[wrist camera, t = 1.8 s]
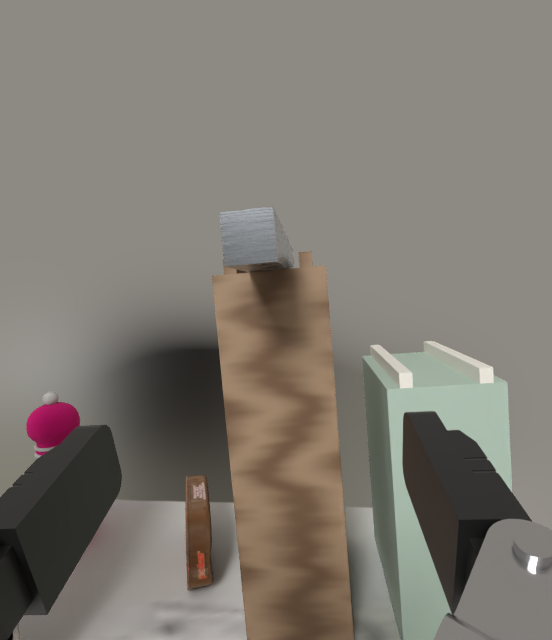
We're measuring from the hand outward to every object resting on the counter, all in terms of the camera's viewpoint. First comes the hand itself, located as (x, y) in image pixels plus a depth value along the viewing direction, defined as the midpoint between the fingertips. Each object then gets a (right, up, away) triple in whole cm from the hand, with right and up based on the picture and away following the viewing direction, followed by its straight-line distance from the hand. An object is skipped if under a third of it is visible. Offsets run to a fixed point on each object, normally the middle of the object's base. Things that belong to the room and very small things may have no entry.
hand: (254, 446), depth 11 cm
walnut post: (+3, -24, +30) cm, 39 cm away
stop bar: (0, +8, +23) cm, 24 cm away
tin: (-8, -25, +36) cm, 44 cm away
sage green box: (+16, -23, +29) cm, 40 cm away
